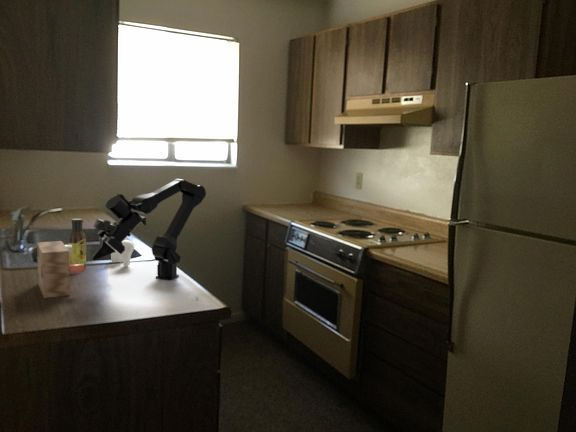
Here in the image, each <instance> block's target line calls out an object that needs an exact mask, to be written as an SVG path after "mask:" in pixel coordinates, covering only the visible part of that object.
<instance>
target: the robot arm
mask: <svg viewBox="0 0 576 432" xmlns="http://www.w3.org/2000/svg"><path fill="white" fill-rule="evenodd" d="M178 193H181V204H180V205H179V208H178V209H177V212H176V213H175V215H174V217H173V218H172V220H171V222H170V224H169V226H168V228H167V230H166V231H165V232H164V234H163V235H162V236H160V235H157V236H156V238H155V240H154V241H153V243H151V245H152V247H151V253H152V256H153V257H154V260H155V261H157V262H158V263H157V265H156V266H157V267H156V268H157V271H156V273H157V275H156V276H155V278H156V279H161V280H167V281H169V280H170V281H171V280H173V279H175V278H178V277H179V276H180V274H177V273H178V272H177V271H178V268H177V267H178V264H177V263H180V261H181V255H179V254H178V252H177V248H178V239H179V236H180V235H181V233H182V231H183V228H184V227H185V225H186V223H187V221H188V220H189V219H190V216H191V214H192V212H193V210H194V209H195V208H196V207H197V206H199V205H200V204H201V203H202V202H203V200H204V199H205V198H206V195H207V192H206V188H205V187H204V186H203V185H197V184H195V183H192V182H190V181H187V180H186V179H183V178H175V179H173V180H172V181H171V182H169V183H167V184H165V185H163V186H161V187H159V188H158V189H156V190H154V191H152V192H149V193H143V194H140V195H137V196H134V197H133V198H132V199H131V200H127V199H126V197H125V195H123V194H122V193H117V194H116V195H115V196H113V197H111V198H110V199H108V200H107V202H106V204H105V208H106V209H107V210H108V211H109V212H110V213H111V214H112V215H114V217H116V218H117V219H119V220H118V221H114V222H113V223H111V221H110V220H108V219H104V220H103V219H100V218H96V220H95V222H94V224H93V228H95V230H99V231H98V232H97V233H96V234H97V235H98V239H99V245H97V248H96V250H95V251H94V253H93V255H92V257H91V259H92V260H93V261H97V260H99V259H101V258H104V257H106V256H108V255H111V253H114V252H116V251H115V250H117V251H118V252H119V253H120V254H122V253H123V252H124V251H125V246H124V245H122V244H123V243H122V241H123V240H124V239H125V238H126V239H127V237H130V236H132V232H133V231H135V229H136V228H137V227H138V226H139V225H140V224H142V225H143V226H147V217H146V216H144V215H141V214H145V215H148V214H151V213H152V212H153V211H154V210H155V209H157V207H158V205H159V204H161V202H163V201H165V200H167V199H169V198H170V197H172V196H174V195H177V194H178ZM139 213H140V214H139Z"/></svg>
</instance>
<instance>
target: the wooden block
mask: <svg viewBox="0 0 576 432" xmlns="http://www.w3.org/2000/svg"><path fill="white" fill-rule="evenodd" d="M65 245H66V244H64V242H63V241H62V240H55V241H40V242H39V241H36V254H37V260H36V261H37V284H38V287H39V289H40V292H41V294H42V296H43V298H44V299H45V298H46V299H47V298H55V297H56V298H57V297H64V296H70V295H71V284H70V283H71V281H70V280H71V279H70V278H71V277H70V275H71V274H69V265H70V264H69V251H68V249H67V248H66V246H65Z"/></svg>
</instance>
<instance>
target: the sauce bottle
mask: <svg viewBox="0 0 576 432" xmlns="http://www.w3.org/2000/svg"><path fill="white" fill-rule="evenodd" d="M83 220H84V219H83V218H72V219H71V227H72V228H71V232H70V234H69V237H68V245H72V253H69V265H75V264H84V268H85V269H86V264H87V237H86V234H85V232H84V231H83Z"/></svg>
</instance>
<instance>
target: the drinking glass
mask: <svg viewBox="0 0 576 432" xmlns="http://www.w3.org/2000/svg"><path fill="white" fill-rule="evenodd" d="M124 240H127V237H126V238H125V239H124ZM115 251H116V252H114V253H111V254H110V262H111V261H112V262H111V263H115V262H120V263H123V260H122V255H121V254H120V253H119V252H118V251H117V250H115Z"/></svg>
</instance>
